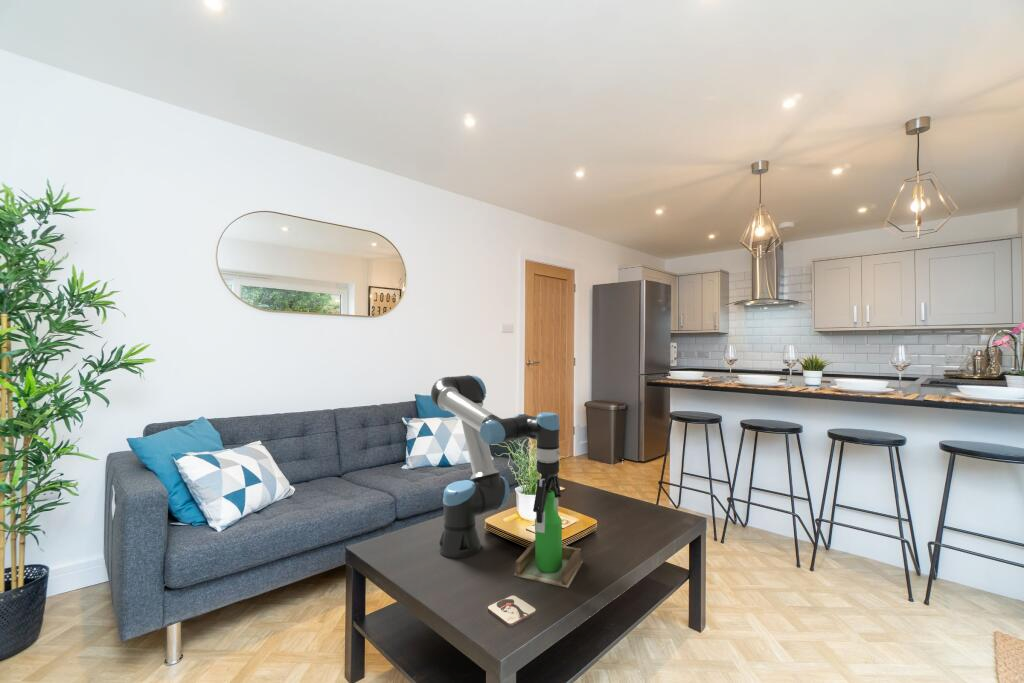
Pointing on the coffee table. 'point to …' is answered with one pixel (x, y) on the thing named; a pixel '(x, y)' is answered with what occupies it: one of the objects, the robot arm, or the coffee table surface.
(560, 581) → the u rest
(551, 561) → the bottle
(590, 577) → the coffee table surface
